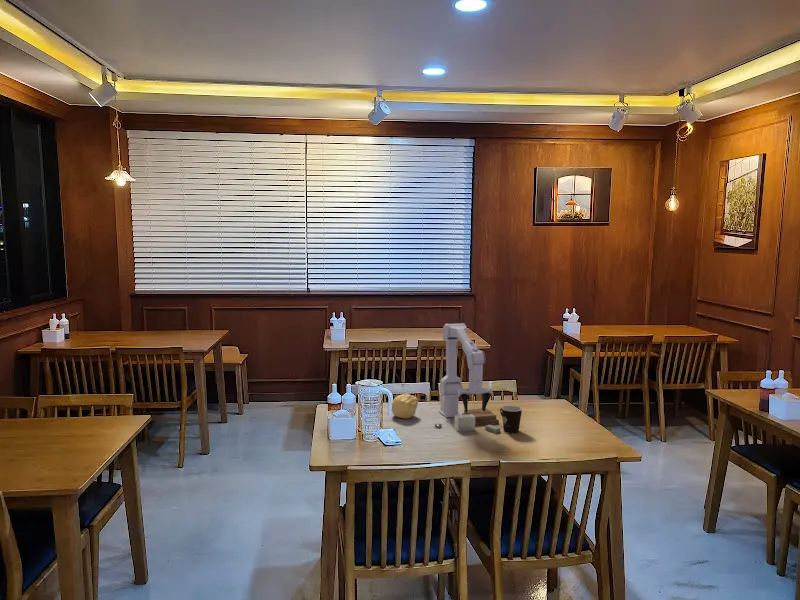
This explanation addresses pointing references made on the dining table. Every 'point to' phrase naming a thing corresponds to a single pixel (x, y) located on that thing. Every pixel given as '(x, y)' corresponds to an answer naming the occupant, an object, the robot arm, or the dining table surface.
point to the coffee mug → (511, 418)
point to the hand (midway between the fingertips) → (474, 410)
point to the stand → (482, 416)
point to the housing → (464, 422)
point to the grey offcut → (492, 428)
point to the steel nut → (438, 425)
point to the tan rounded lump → (404, 406)
